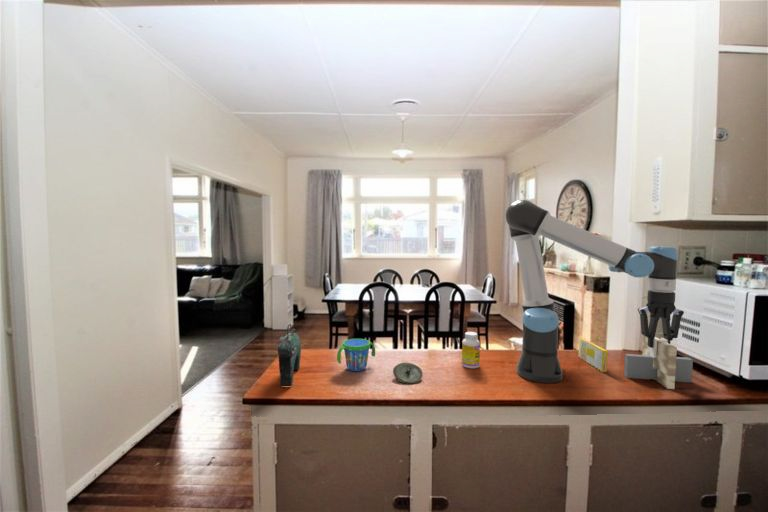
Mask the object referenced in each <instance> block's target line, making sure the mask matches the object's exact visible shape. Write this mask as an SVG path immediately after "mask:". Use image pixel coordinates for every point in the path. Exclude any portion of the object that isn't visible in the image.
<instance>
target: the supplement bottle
mask: <svg viewBox="0 0 768 512" xmlns="http://www.w3.org/2000/svg"><path fill="white" fill-rule="evenodd" d="M461 342H462V344H461V345H462V348H461V364H462V367H464V368H467V369H478V368H479V367H480V360H481V359H480V356H481V354H480V353H481V352H480V351H481V342H480V340H478V333H477V332H475V331H466V332H465V333H464V338H463V339H462V341H461Z"/></svg>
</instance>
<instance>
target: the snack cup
mask: <svg viewBox="0 0 768 512" xmlns="http://www.w3.org/2000/svg"><path fill="white" fill-rule="evenodd" d="M370 348H371V351H370V353H371V354H370V355H371V356H372V357H375V356H376V346H375V345H374V344H373V342H371V341H370V340H368V339H365V338H350V339H349V338H348V339H346V340H344V341H343V342H342V345H341V346H340V347H339V349H338V350H337V353H336V360H337V363H338V364H341V363H342V361H341V360H342V359H341V358H342V357H341V356H342V351H344V357H345V363H346V365H345V366H346V369H347V370H349V371H352V372H361V371H363V370H364V369H365V370H366V369H367V365H368V359H369V350H370Z"/></svg>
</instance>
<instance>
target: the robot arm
mask: <svg viewBox="0 0 768 512" xmlns="http://www.w3.org/2000/svg"><path fill="white" fill-rule="evenodd" d="M505 221H506V223H507V225H508V228H509V233H510V235H509V236H510V238H511V239H512V240H513V241H514V242H515V245H516V252H517V257H518V263H519V269H520V276H521V283H522V287H523V288H522V289H523V294H524V301H523V302H522V303H521V306H522V313H523V315H522V351H521V354H520V357H519V359H518V362H517V364H516V373H517V375H518V376H520V377H522V378H524V379H526V380H529V381H532V382H535V383H544V384H555V383H558V382H561V381H562V380H563V370H562V367H561V363H560V360H559V357H558V345H559V342H558V341H559V324H560V320H559V315H558V313H557V312H556V309H555V304H554V300H553V299H551V298H550V297H549V293H548V287H547V286H548V285H547V281H546V280H547V279H546V274H545V269H544V262H543V256H542V251H541V250H542V249H541V245H540V239H539V238H540V237H541V236H542V237H544V238H547V239H549V240H551V241H553V242H556V243H557V244H560V245H562V246H564V247H567V248H568V249H569V248H570V249H571V250H573V251H576V252H578V253H581V254H582V255H585V256H587V257H589V258H592V259H594V260H596V261H598V262H600V263H602V264H605V265H608V269H609V271H610V272H612V273H613V272H614V273H618V274H619V273H625V274H627V275H628V276H631V277H633V278H646V277H647V276H648V277H647V278H648V279H647V280H648V282H647V288H648V289H649V290H647V296H646V297H647V298H646V299H647V303H646V305H645V306H644V307H638V308H637V312H638V313H639V321H640V330H641V335H642V336H643V335H644V336H646V337H647V338H648V343H647V345H648V347H650V356H652V357H653V358H656V354H657V339H655V337H656V333H657V329H658V323H659V320H660V319H661V324H662V325H661V326H662V336H663V337H660V339H661V340H663V341H665V342H667V343H669V344H671V341H673V339H678V336H679V331H680V325H681V319H682V317H683V315H684V314H685V311H684V310H681V309H679V308H676V305H675V302H676V292H675V291H676V287H677V286H676V285H677V272H678V271H677V268H678V249H677V248H676V247H675V246H668V245H667V246H666V245H665V246H660V245H659V246H658V245H657V246H655V245H654V246H650V247H649V250H648V251H636V250H634V249H631V248H629V247H627V246H624V245H622V244H619V243H617V242H615V241H612V240H610V239H608V238H605V237H603V236H600V235H598V234H596V233H593V232H591V231H589V230H586V229H584V228H583V227H582V228H581V227H578V226H577V225H574V224H572V223H569V222H567V221H564V220H562V219H561V218H557V217H556V216H553V215H552V214H551V212H550V211H548V210H547V209H544V208H542V207H540V206H538V205H536V204H535V203H533V202H532V201H530V200H528V199H519V200H515V201H513V202H512V203H511V204H510V205H508V207H507V209H506V211H505ZM648 313H649V316H648ZM671 315H672V316H671ZM648 317H649V318H650V319H649V318H648ZM671 317H672V319H671Z"/></svg>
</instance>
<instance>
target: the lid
mask: <svg viewBox="0 0 768 512" xmlns="http://www.w3.org/2000/svg"><path fill="white" fill-rule="evenodd" d="M392 373H393V376H394V378H395V379H396V380H397V381H398V382H400V383H402V384H406V383H408V384H407V385H412V383H413V384H417V383H419V382H420V381H421V380H422V379H423V370H422V369H421V368H420V367H419V366H418V365H416V364H415V363H411V362H400V363H397V364H396V365H394V367H393V369H392Z"/></svg>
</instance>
